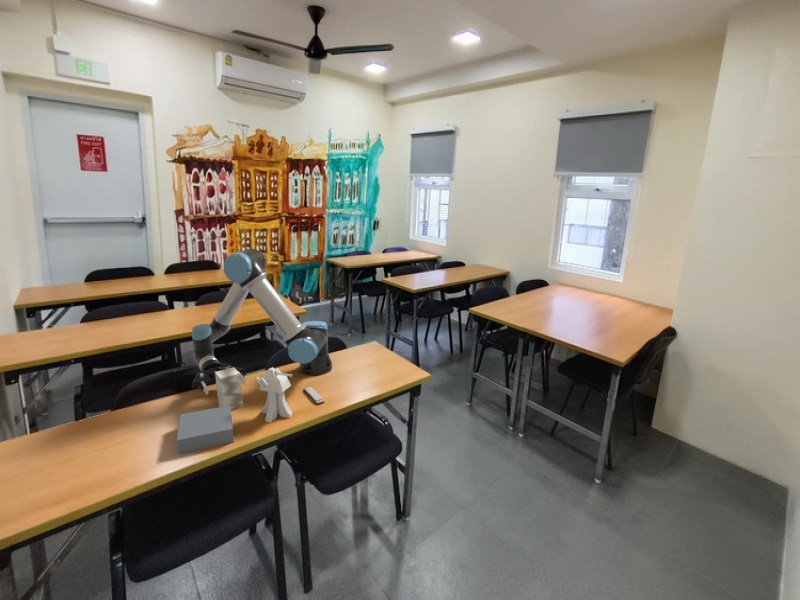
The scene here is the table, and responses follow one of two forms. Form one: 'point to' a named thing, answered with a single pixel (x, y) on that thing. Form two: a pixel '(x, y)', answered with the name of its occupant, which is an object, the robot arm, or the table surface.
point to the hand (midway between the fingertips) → (226, 386)
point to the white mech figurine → (275, 394)
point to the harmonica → (314, 395)
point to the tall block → (229, 388)
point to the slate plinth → (205, 429)
